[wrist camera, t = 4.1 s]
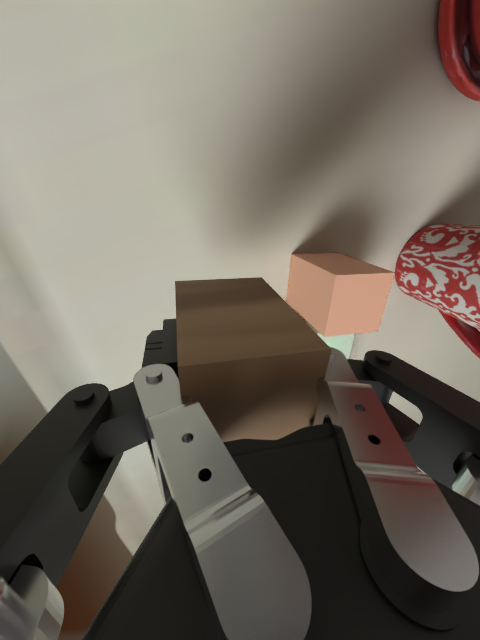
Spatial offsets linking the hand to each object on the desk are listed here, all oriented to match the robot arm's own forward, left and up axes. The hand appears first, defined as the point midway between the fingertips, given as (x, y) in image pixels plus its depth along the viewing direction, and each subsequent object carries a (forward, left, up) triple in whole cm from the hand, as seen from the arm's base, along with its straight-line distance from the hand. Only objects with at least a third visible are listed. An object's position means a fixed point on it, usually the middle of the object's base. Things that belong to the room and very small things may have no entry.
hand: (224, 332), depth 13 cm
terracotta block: (0, +10, -10) cm, 14 cm away
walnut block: (0, 0, -2) cm, 2 cm away
